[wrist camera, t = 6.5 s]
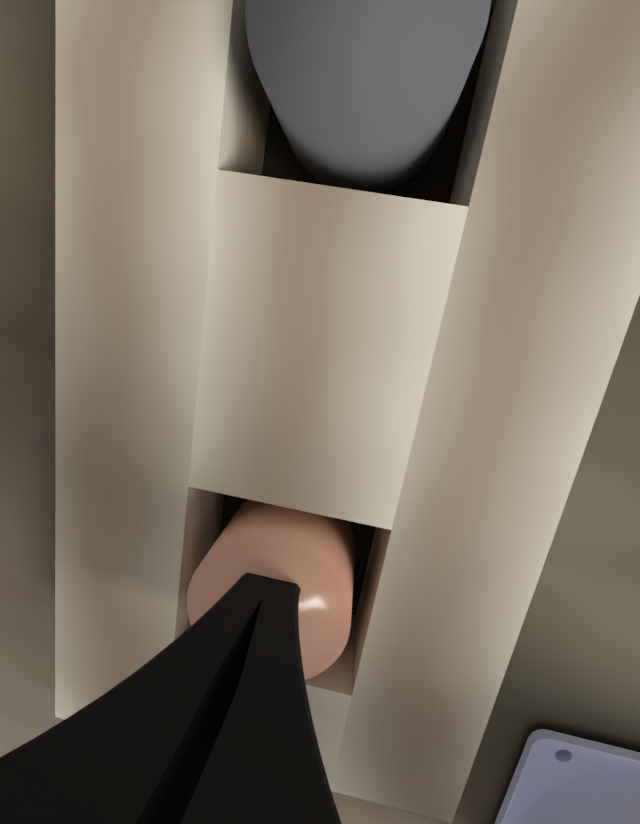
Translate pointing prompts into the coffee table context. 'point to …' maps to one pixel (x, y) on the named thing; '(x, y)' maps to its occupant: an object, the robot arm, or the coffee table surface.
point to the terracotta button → (287, 572)
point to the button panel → (333, 358)
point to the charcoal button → (364, 80)
